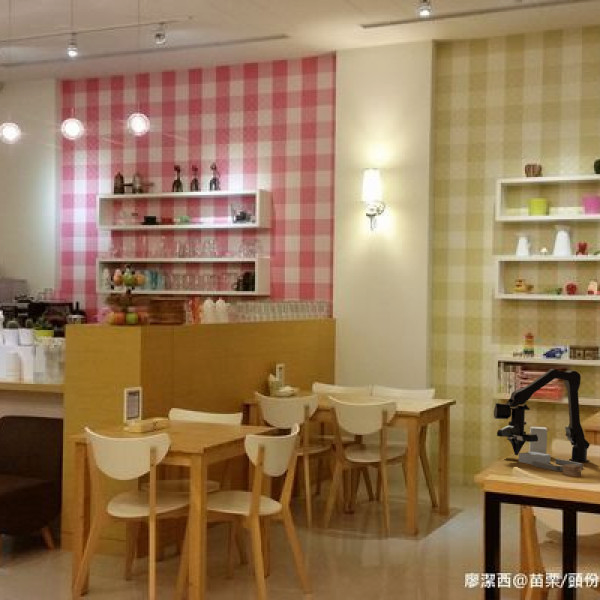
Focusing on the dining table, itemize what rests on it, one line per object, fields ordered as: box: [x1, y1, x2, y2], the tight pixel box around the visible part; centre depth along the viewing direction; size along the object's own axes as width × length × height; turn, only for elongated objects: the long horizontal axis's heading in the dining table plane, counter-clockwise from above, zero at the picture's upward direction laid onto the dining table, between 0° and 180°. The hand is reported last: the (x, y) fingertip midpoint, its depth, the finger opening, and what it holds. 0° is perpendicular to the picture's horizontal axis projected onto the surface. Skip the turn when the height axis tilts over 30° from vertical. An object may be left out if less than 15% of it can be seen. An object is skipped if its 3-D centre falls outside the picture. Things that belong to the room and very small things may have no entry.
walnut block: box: [562, 464, 582, 477], centre depth 364 cm, size 5×5×4 cm
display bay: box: [531, 458, 584, 473], centre depth 381 cm, size 16×13×2 cm
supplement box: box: [528, 426, 548, 454], centre depth 410 cm, size 7×7×13 cm
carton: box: [518, 451, 551, 465], centre depth 390 cm, size 10×9×4 cm
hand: (516, 455), depth 398 cm, fingers closed
